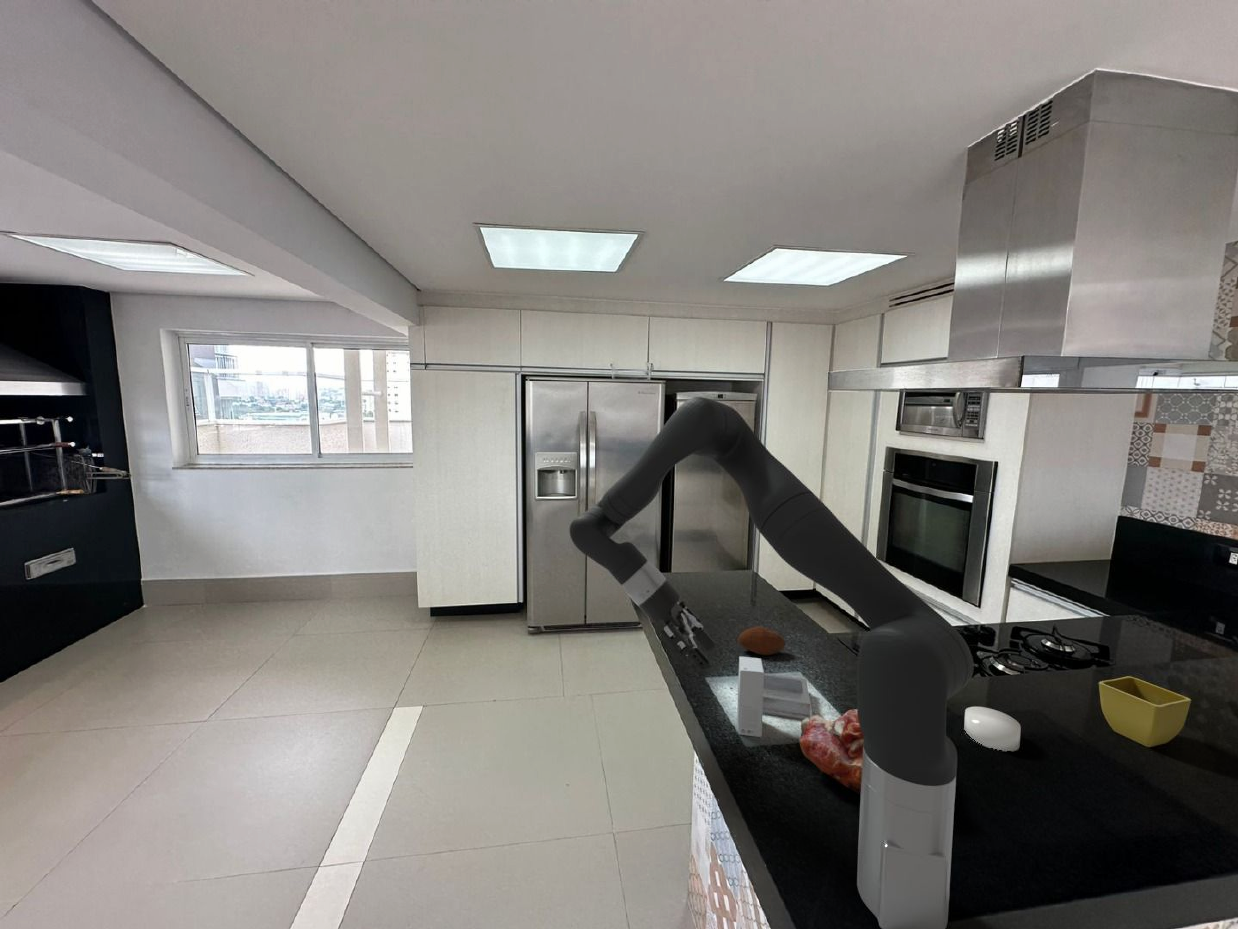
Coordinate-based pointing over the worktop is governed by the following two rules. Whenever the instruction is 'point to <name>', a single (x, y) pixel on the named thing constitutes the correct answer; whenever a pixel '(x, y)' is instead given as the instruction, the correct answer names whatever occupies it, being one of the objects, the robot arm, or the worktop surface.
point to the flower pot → (1143, 710)
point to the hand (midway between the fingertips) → (709, 657)
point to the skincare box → (750, 696)
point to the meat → (835, 747)
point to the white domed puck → (992, 728)
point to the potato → (761, 641)
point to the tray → (786, 696)
